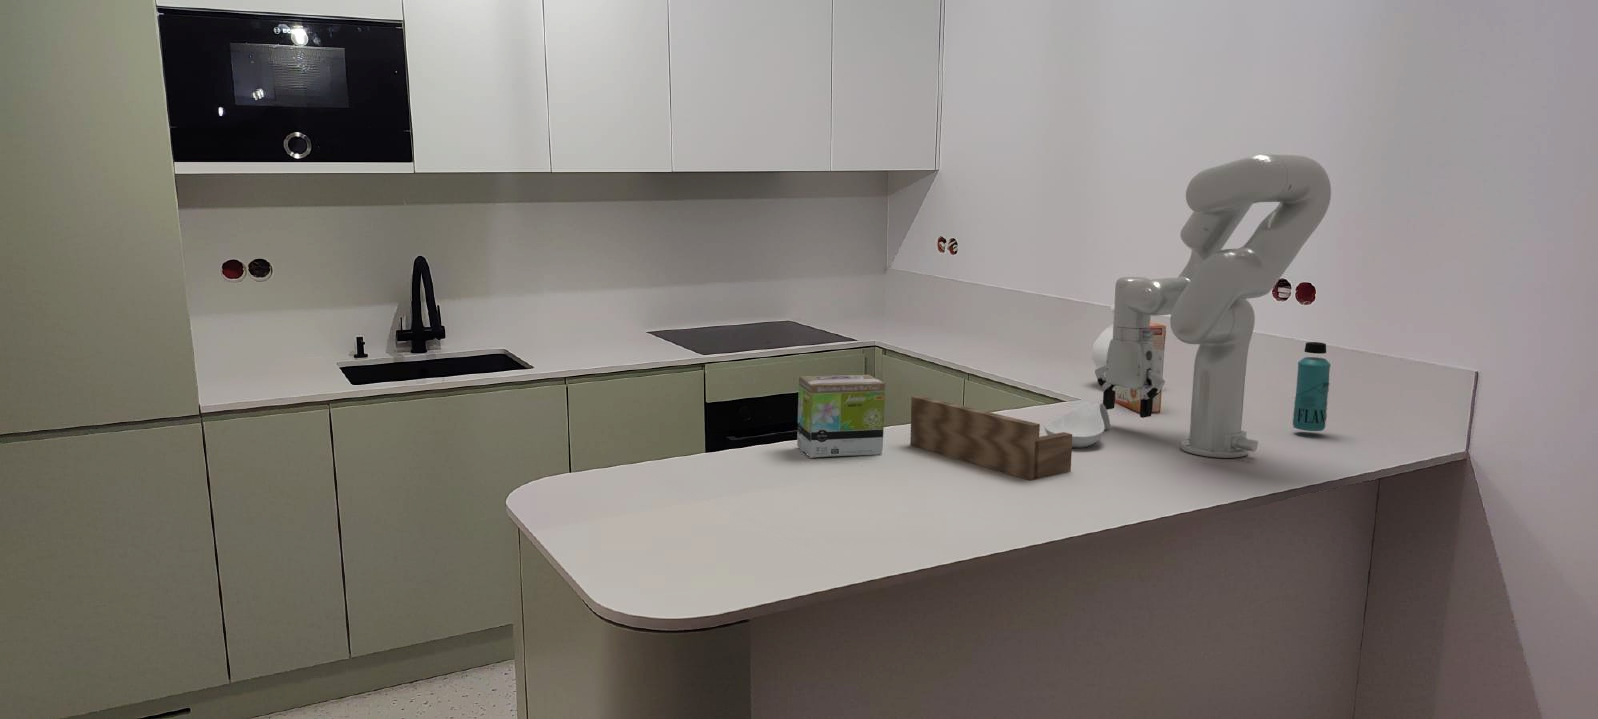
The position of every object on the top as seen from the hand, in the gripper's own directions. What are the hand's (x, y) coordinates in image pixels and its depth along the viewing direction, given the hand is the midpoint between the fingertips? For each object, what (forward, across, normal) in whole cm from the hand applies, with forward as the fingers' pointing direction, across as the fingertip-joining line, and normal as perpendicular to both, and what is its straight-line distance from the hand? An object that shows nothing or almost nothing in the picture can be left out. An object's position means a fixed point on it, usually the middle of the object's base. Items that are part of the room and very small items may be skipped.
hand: (1126, 412), depth 224 cm
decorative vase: (+4, +32, -42) cm, 53 cm away
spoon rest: (+4, 0, +14) cm, 15 cm away
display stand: (+4, 0, +43) cm, 43 cm away
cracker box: (+4, +14, -23) cm, 27 cm away
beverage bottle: (+4, -25, -29) cm, 38 cm away
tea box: (+4, +19, +63) cm, 66 cm away
